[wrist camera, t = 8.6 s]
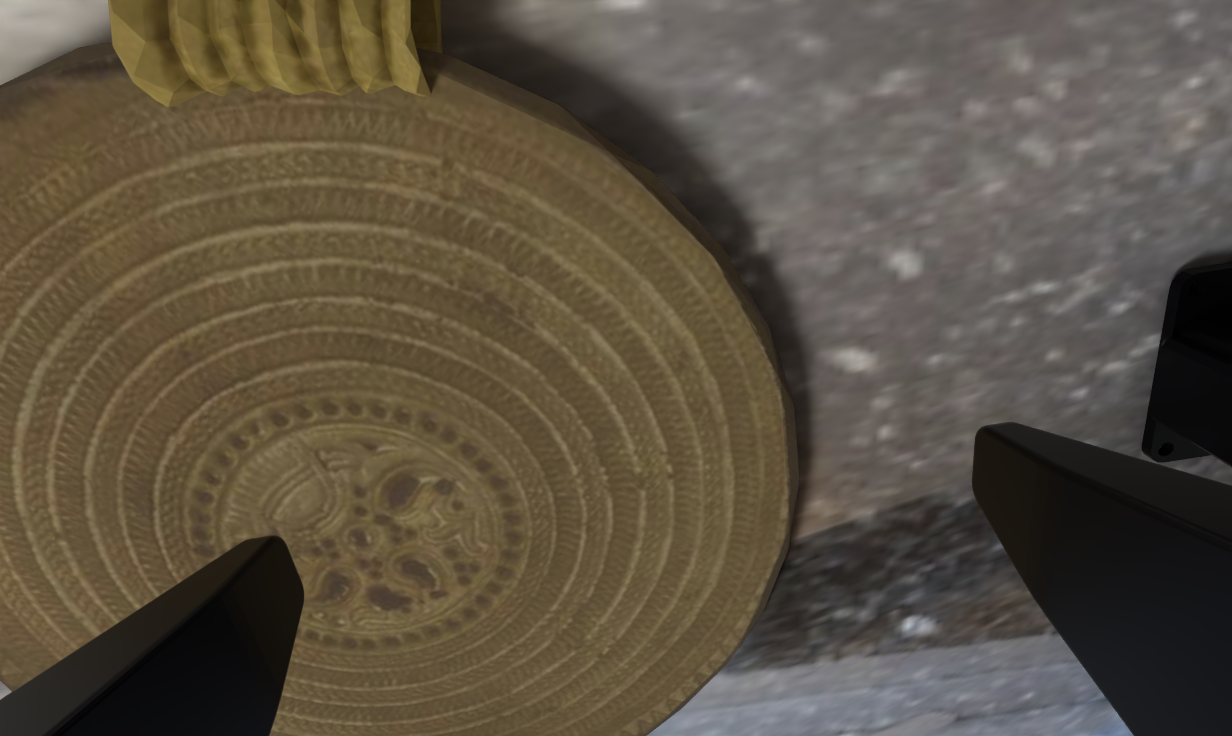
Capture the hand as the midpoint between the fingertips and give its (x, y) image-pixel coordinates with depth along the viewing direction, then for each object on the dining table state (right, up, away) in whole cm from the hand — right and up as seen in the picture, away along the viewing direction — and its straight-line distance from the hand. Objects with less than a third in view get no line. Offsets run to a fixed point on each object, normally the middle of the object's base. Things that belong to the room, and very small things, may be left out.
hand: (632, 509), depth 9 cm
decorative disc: (-9, -2, +14) cm, 17 cm away
